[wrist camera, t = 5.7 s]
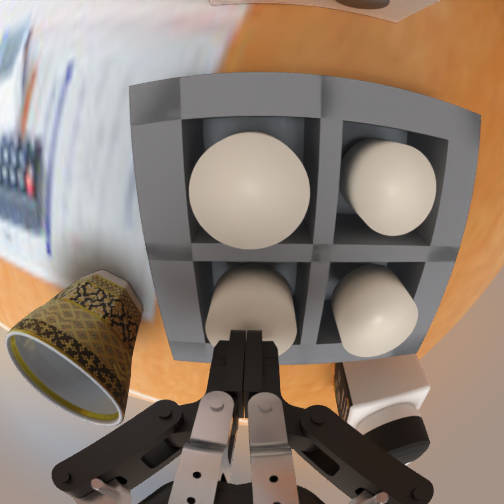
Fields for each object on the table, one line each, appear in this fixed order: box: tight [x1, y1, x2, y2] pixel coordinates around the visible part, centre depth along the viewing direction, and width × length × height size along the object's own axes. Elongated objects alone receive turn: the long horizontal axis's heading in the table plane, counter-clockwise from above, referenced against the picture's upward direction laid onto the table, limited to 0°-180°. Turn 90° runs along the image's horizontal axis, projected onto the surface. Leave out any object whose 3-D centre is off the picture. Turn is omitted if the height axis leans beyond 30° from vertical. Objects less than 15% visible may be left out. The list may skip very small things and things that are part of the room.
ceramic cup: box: [5, 270, 143, 426], centre depth 18 cm, size 13×10×10 cm
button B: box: [331, 264, 418, 357], centre depth 15 cm, size 5×5×3 cm
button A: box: [339, 138, 436, 236], centre depth 13 cm, size 5×5×3 cm
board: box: [129, 72, 481, 365], centre depth 16 cm, size 18×17×5 cm
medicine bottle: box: [334, 353, 430, 465], centre depth 19 cm, size 7×7×12 cm
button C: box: [189, 131, 310, 249], centre depth 12 cm, size 5×5×3 cm
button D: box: [205, 264, 297, 356], centre depth 15 cm, size 5×5×3 cm
